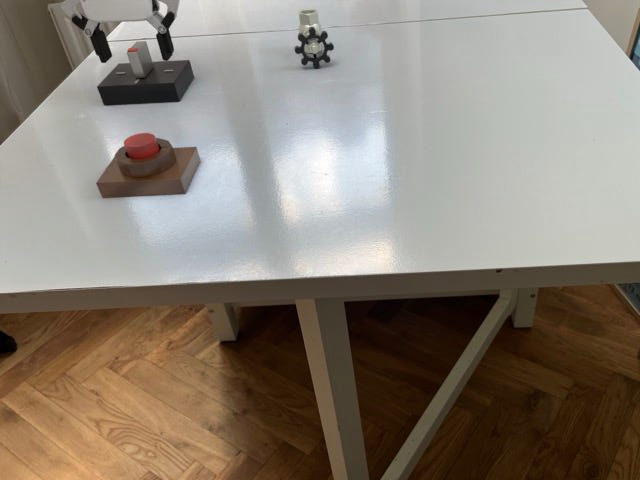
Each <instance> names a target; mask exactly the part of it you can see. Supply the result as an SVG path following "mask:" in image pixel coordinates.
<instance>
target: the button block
mask: <svg viewBox="0 0 640 480" xmlns="http://www.w3.org/2000/svg"><path fill="white" fill-rule="evenodd" d="M155 138H156V141H157V143H158V146H159V152H158V153H157V154H155V155H153V156H151V157H148V158H144V159H130V158H129V156H128V153H127V151H126V148H125V146H124V145H123V146H121V147H120V148H118V150H117V151H116V152H115V154H114V155H113V156H114V157H113V158H112V159H111V161H110V162H109V164H108V165H107V166H106V168H105V169H104V171H103V172H102V173H101V174H100V176H99V178H98V179H97V181H96V182H95V185H96V187H97V189H98V191H99V193H100V196H101V198H102V199H115V198H116V199H118V198H135V197H137V198H139V197H154V196H155V197H158V196H179V195H187V192H188V190H189V188H190V186H191V184H192V181H193V179H194V177H195V176H196V173H197V171H198V169H199V166H200V164H201V161H202V160H201V158H200V154H199V150H198V147H197V146H184V147H173V145H172V144H171V142H170V140H168V139H164V138H160V137H155Z"/></svg>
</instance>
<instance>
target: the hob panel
mask: <svg viewBox="0 0 640 480" xmlns="http://www.w3.org/2000/svg"><path fill="white" fill-rule="evenodd" d="M152 62H153V65H154V67H153V68H152V70H151V71H150V72H149V74H148V75H147V76H146V77H145V78H135V76H134V73H133V70H132V67H131V64H130V62H122V63H120V62H119V63H117V65H115V67H113V69H112V70H111V71H110V72H109V73H108V74H107V75H106V76H105V77H104V78H103V80H101V82H100V83H98V85H97V86H96V89H97V91H98V94H99V96H100V99H101V102H102V104H103V106H117V105H119V106H120V105H137V104H138V105H139V104H140V105H141V104H156V103H157V104H158V103H176V102H180V101H181V100H182V99H183V97H184V95H185V93H186V92H187V90H188V89H189V87H190V85H191V84H192V82H193V81H194V79H195V74H194V70H193V68H192V64H191V60H190V59H181V60H180V59H179V60H168V61H164V60H159V61H153V60H152Z"/></svg>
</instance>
